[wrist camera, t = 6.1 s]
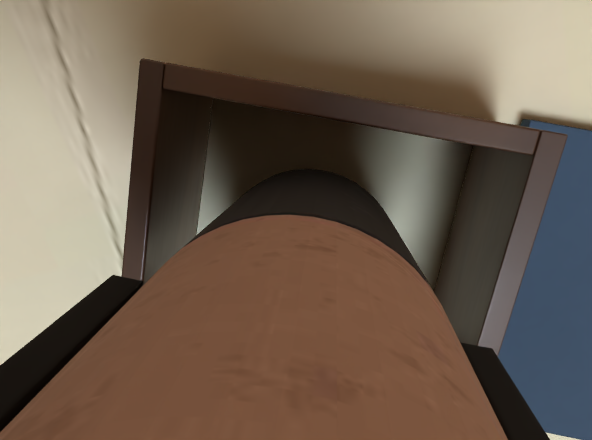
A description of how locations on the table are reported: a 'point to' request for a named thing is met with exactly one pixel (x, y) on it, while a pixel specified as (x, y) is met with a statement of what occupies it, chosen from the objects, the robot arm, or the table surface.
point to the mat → (558, 299)
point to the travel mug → (274, 336)
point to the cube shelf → (478, 132)
